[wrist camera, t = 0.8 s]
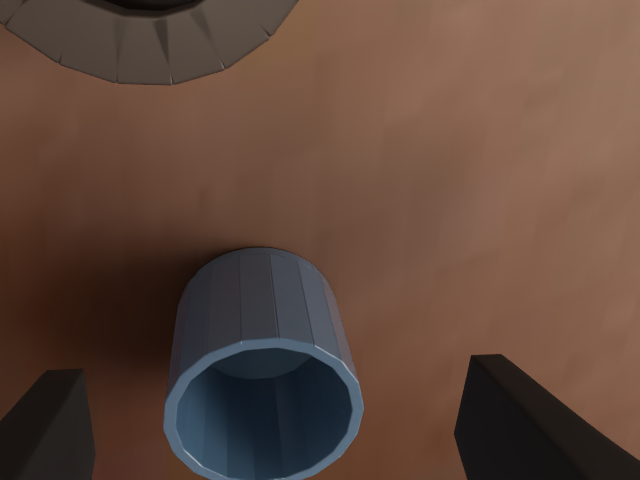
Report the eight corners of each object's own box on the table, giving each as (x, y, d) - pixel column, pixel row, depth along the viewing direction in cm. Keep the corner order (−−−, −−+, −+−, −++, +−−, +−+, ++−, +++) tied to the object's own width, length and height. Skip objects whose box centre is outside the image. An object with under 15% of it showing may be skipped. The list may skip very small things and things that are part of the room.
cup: (273, 399, 24) (283, 512, 19) (145, 332, 22) (122, 442, 17) (367, 299, 22) (403, 396, 18) (239, 216, 20) (242, 302, 15)
